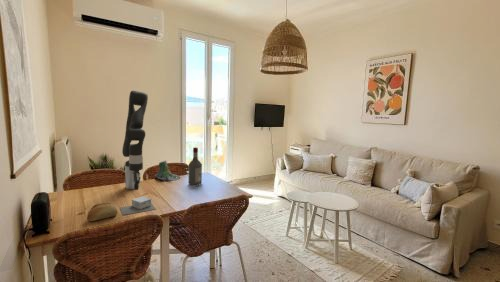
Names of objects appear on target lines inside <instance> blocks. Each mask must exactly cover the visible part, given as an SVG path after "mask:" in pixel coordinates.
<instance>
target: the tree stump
mask: <svg viewBox="0 0 500 282" xmlns="http://www.w3.org/2000/svg"><path fill="white" fill-rule="evenodd" d="M167 162H168V161H167V160H163V161H160V162H159V163H158V172H157V174H155V178H157V179H158V180H160V181H163V182H174V181H177V179H178V180H180V178H181V177H180V175H178V174H174V173H172V172H171V171H170V169H169V168H168V167H169V165H168V163H167ZM176 177H177V178H176ZM173 180H174V181H173Z"/></svg>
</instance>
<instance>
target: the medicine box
mask: <svg viewBox="0 0 500 282" xmlns="http://www.w3.org/2000/svg"><path fill="white" fill-rule="evenodd" d="M151 203H152V199H151V198H150V197H147V196H144V195H142V196H139V197H136V198H132V199H131V206H133V207H135V208H138V209H143V208H145V207H148V206H151Z"/></svg>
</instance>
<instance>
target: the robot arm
mask: <svg viewBox="0 0 500 282" xmlns="http://www.w3.org/2000/svg"><path fill="white" fill-rule="evenodd" d="M128 99H129V100H128V109H127V110H128V111H127V118H126V124H125V133H124V135H125V136H124V140H123V145H122V152H121V153H122V155H123V157H124V158H128V160H126V161H125V162H124V165H125V166H124V171H125V189H126V190H134V191H137V190H138V191H139V188H140V182H141V172H140V171H142V170H143V168H144V161H143V160H144V157H143V145H144V141H145V138H146V131H145V129H143V126H144V118H145V113H146V111H147V105H148V100H149V97H148V93H146V92H144V91H138V90H131V91H130V93H129V97H128ZM135 106H138V107H139V108H138V109H137V110H136V109H135ZM134 141H135V142H136V141H138V142H136V143H132V142H134Z"/></svg>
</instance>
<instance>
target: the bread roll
mask: <svg viewBox="0 0 500 282" xmlns="http://www.w3.org/2000/svg"><path fill="white" fill-rule="evenodd" d="M117 214H118V209H117V207H116V206H115V205H114V204H112V203H111V202H100V203H97V204H95V205H93V206H92V207H91V208H90V209H89V211H88V213H87V216H86V220H87V221H88V222H94V221H99V220H102V219H107V218H113V217H115V216H116V215H117Z"/></svg>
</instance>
